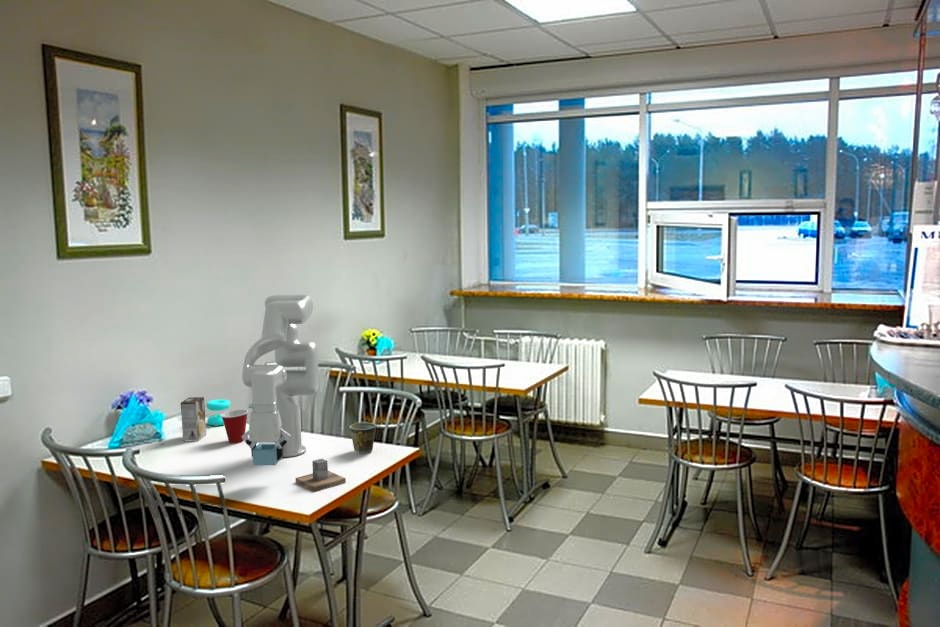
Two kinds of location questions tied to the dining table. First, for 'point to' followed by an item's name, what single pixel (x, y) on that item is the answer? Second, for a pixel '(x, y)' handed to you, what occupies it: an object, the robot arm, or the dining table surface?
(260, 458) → the blue hollow block
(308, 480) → the post base
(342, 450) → the dining table surface
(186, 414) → the coffee box
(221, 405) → the donuts
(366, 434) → the ceramic cup
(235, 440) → the plastic cup
